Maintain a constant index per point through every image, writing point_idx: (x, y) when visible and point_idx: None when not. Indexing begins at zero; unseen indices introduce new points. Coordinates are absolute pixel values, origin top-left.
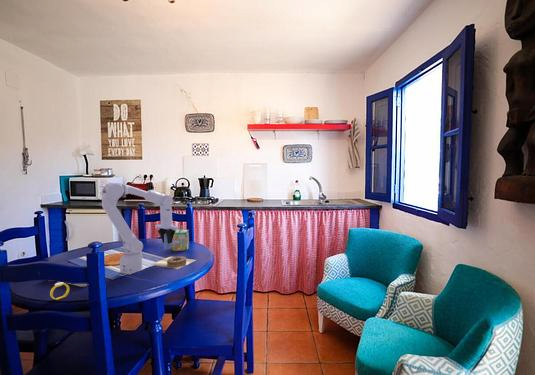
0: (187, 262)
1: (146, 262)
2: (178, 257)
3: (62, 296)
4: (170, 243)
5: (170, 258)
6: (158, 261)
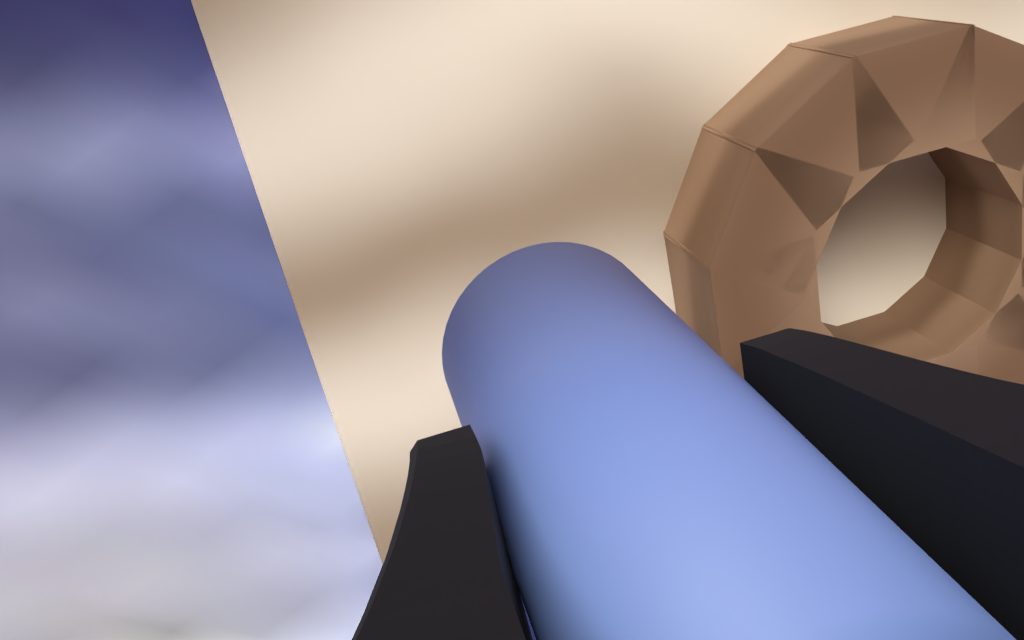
0: (989, 19)
1: (90, 559)
2: (858, 160)
3: None
4: (711, 349)
5: (738, 327)
6: (343, 408)
